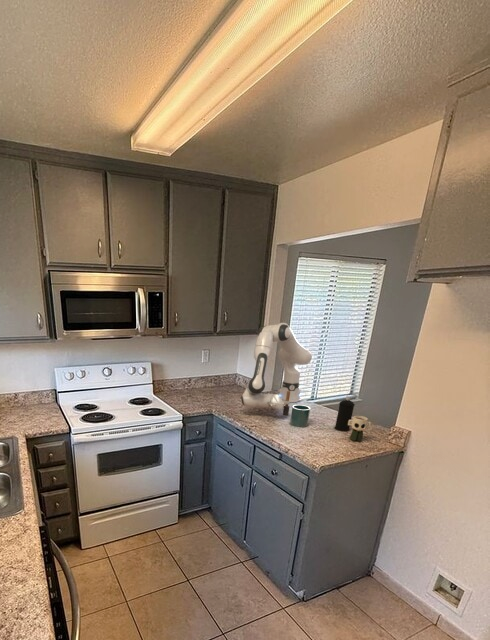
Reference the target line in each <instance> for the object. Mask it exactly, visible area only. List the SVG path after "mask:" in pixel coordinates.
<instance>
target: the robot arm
mask: <svg viewBox="0 0 490 640" xmlns="http://www.w3.org/2000/svg"><path fill="white" fill-rule="evenodd" d="M274 342H275V343H277V342H278V344H279V347H280V349H279V350H278V353H277V357H278V360H279V361H280V362H281V364H282V368H283V379H282V383H281V386H280V388H279V389H277V393H276V394H274V393H269V392H265V393H263V392H264V390H265V388H266V382H265V374H266V373H265V372H266V367H267V364H268V361H269V360H270V358H271V355H272V352H273V351H272V350H273V345H274ZM312 355H313V354H312V352H311V351H310V350H309V349H307V348H305V347H304V346H303V345H302V344H301V343H300V342H299V341H298V340H297V338H296V336H295V334H294V332H293V330H292V329H291V327H290V326H289V324H287V323H286V322H280V323H277V324H269V325H263V326H261V327H259V329H258V330H257V339H256V341H255V344H254V349H253V359H254V360H255V367H254V372H253V376H252V378H251V379H250V380H249V382H248V383H247V385H246V388H245V390H244V392H243V393H242V394H241V399H240V400H241V404H242V405H243V406H244V407H246V408H260V409H269V408H272V409H282V410H283V408H284V406H285V404H289V405H290V403H297V402H302V398H301V389H300V377H301V371H300V370H299V368H298V367H297V366H296V365H299V366H301V365H303V366H304V365H308V364H310V362H311V361H312V357H313V356H312ZM287 391H290V397H289V401H286V395H287Z"/></svg>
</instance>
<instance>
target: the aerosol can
mask: <svg viewBox="0 0 490 640" xmlns="http://www.w3.org/2000/svg"><path fill="white" fill-rule="evenodd" d="M338 404H339V405H338V410H337V416H336V421H335V426H334V429H335V430H336V431H340V432H349V431H350V429H351V428H350V427H351V426H350V425H348V421H349V420H352V419H353V414H354V412H353V411H354V409H355V405H356V404H355V403H354V402H353V401H352V400H351V396H349V395H347V396H346V397H345V399H343V400H341V401H339V402H338ZM350 424H352V422H350Z"/></svg>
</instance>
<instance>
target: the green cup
mask: <svg viewBox="0 0 490 640" xmlns="http://www.w3.org/2000/svg"><path fill="white" fill-rule="evenodd" d="M291 407H292V408H291V412H290V413H291V414H290V420H289V421H290V422H289V424H290V426H293V427H296V428H306V427H308V425H309V418H310V414H311V413H310V412H311V407H310V406H307V405H303V404H294V405H292V406H291Z"/></svg>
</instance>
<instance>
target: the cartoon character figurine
mask: <svg viewBox="0 0 490 640" xmlns="http://www.w3.org/2000/svg"><path fill="white" fill-rule="evenodd" d="M368 420H369V419H368V417H367V416H363V415H354V416H352V419H351V420H349V421H348V425H350V427H351V429H352V431H351V433H350V435H349V439H350V440H351V441H355V442H356V441H357V442H362V441H363V439H364V438H363V437H364V431H365V430H366V428H367V429H369V428H371V425H372V421H368ZM350 422H351V423H350ZM367 424H368V425H367Z"/></svg>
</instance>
